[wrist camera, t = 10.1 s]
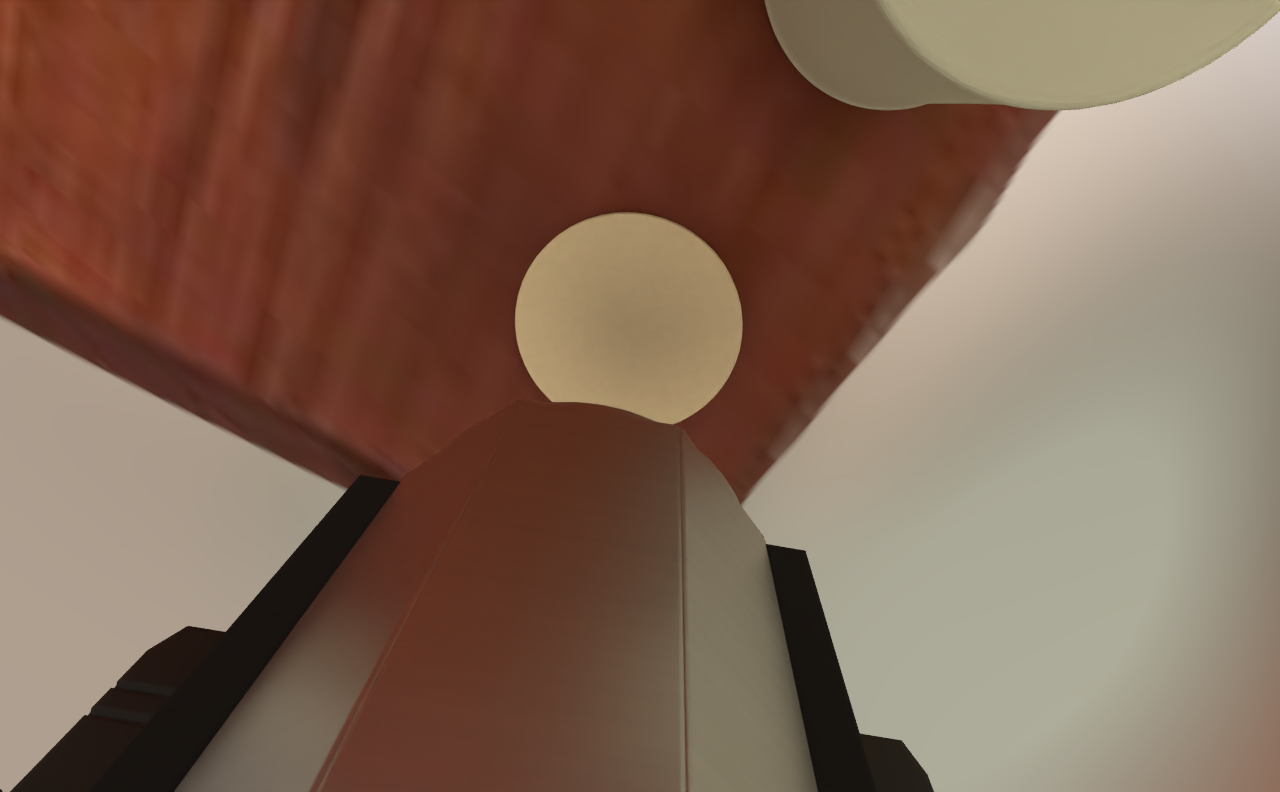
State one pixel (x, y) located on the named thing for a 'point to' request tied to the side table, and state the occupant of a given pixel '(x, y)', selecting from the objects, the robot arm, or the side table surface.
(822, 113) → the side table surface
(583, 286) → the coaster
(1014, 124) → the side table surface
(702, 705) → the steel cup
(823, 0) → the can
